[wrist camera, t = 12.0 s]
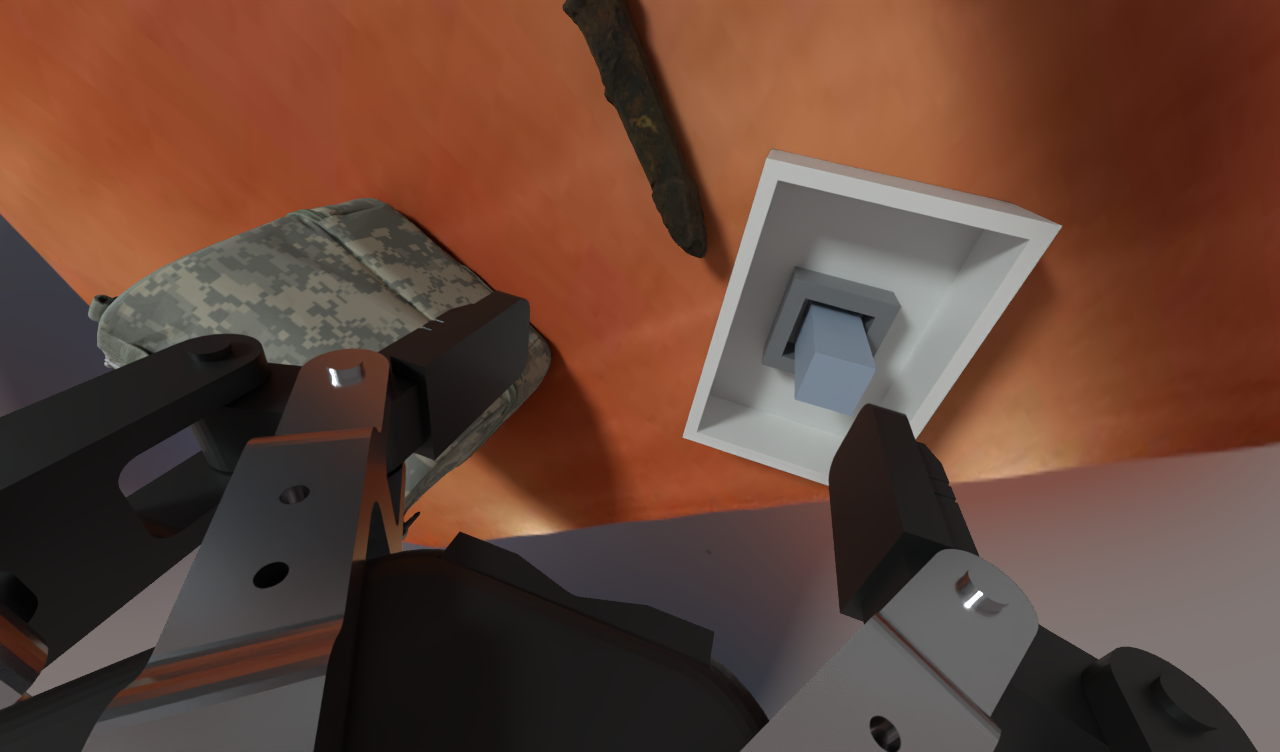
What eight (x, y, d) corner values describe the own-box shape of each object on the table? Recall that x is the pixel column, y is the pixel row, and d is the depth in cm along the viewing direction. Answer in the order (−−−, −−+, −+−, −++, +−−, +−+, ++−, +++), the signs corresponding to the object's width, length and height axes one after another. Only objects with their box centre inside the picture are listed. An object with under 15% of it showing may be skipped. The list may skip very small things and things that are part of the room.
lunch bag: (318, 288, 52) (66, 385, 34) (368, 162, 42) (48, 205, 24) (492, 437, 56) (349, 594, 38) (574, 355, 46) (433, 514, 28)
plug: (810, 295, 35) (815, 352, 27) (857, 307, 35) (876, 369, 27) (794, 334, 37) (794, 399, 29) (838, 346, 37) (851, 416, 29)
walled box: (771, 148, 32) (766, 158, 26) (1010, 202, 30) (1062, 225, 24) (697, 394, 44) (682, 437, 38) (862, 446, 42) (873, 500, 36)
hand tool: (577, 7, 32) (547, -6, 28) (626, -28, 30) (601, -47, 26) (676, 260, 38) (663, 278, 35) (721, 244, 37) (712, 260, 33)
